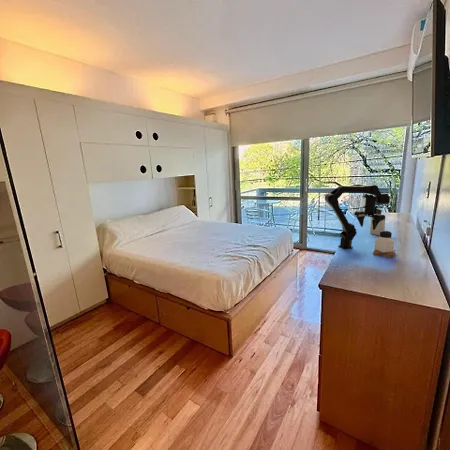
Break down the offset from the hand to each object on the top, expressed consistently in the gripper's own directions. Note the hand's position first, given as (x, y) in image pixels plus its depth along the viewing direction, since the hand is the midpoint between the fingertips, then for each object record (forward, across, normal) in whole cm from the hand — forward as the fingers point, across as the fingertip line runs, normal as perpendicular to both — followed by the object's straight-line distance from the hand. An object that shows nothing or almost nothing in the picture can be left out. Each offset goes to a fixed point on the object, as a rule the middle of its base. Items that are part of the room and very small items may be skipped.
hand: (367, 228), depth 160 cm
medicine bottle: (+11, -14, +1) cm, 18 cm away
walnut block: (+14, -14, +1) cm, 20 cm away
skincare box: (+13, +20, -33) cm, 41 cm away
